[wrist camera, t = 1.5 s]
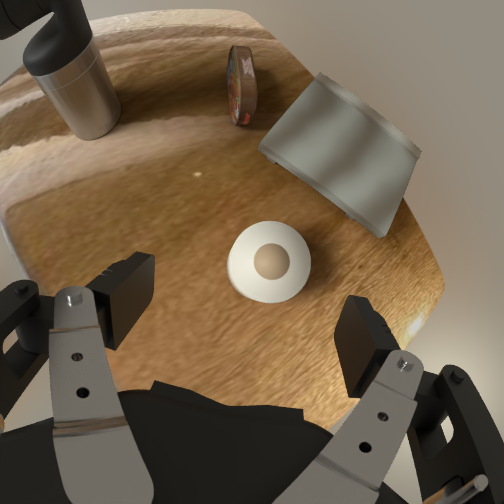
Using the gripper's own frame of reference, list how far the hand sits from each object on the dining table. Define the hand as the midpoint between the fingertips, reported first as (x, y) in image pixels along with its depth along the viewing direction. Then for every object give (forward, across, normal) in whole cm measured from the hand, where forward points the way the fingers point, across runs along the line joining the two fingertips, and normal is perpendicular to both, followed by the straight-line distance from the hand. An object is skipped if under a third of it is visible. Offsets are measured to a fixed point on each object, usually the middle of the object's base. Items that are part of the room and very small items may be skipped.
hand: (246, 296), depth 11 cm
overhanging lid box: (+33, -6, -1) cm, 33 cm away
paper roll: (+26, -1, +10) cm, 28 cm away
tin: (+38, +8, -14) cm, 41 cm away
